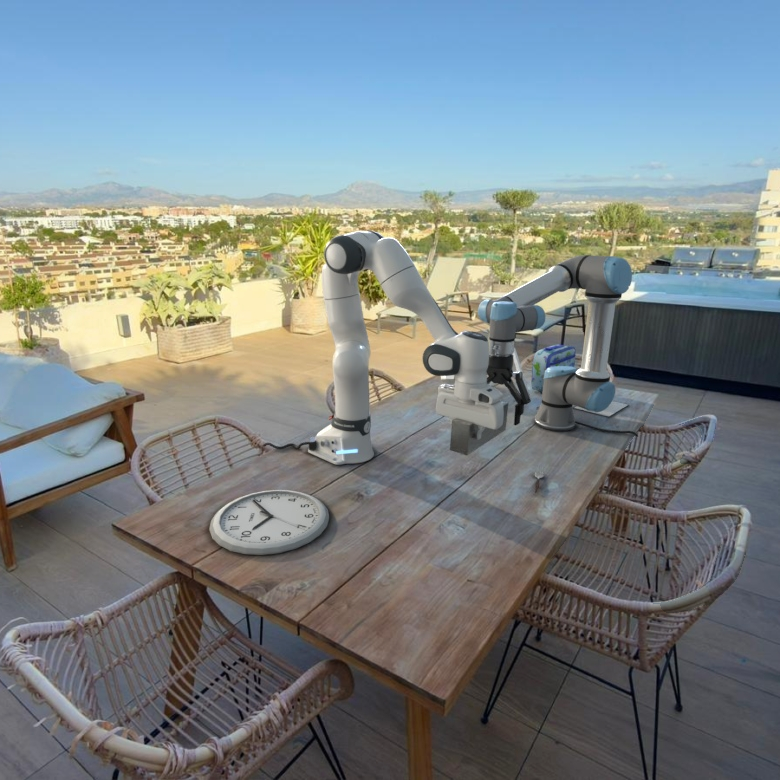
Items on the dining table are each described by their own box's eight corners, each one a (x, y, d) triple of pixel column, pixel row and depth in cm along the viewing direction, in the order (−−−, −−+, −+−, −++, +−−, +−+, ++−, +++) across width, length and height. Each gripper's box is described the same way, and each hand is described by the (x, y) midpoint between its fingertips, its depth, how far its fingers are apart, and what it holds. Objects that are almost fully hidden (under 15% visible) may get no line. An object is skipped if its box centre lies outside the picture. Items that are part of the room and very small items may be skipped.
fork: (530, 493, 151) (531, 487, 150) (535, 470, 165) (536, 465, 164) (539, 495, 150) (540, 489, 149) (544, 472, 164) (544, 466, 163)
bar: (489, 425, 170) (492, 398, 167) (505, 430, 166) (508, 402, 164) (449, 450, 150) (451, 420, 147) (467, 455, 147) (469, 425, 144)
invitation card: (608, 416, 214) (573, 407, 224) (608, 416, 214) (573, 408, 224) (628, 404, 229) (594, 396, 238) (628, 405, 229) (594, 397, 238)
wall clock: (327, 546, 121) (194, 551, 119) (327, 552, 122) (195, 557, 119) (330, 485, 150) (223, 488, 147) (330, 490, 150) (224, 493, 148)
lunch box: (547, 397, 237) (552, 352, 231) (526, 391, 245) (531, 348, 238) (574, 386, 255) (580, 344, 249) (554, 381, 262) (559, 340, 256)
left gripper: (432, 384, 150) (430, 429, 154) (498, 400, 138) (493, 448, 142) (444, 380, 155) (441, 423, 159) (508, 394, 143) (503, 441, 147)
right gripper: (458, 350, 162) (455, 414, 169) (535, 362, 148) (529, 432, 154) (470, 345, 168) (467, 407, 174) (545, 357, 154) (539, 424, 160)
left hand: (466, 435), depth 150 cm, fingers closed on bar, 5 cm apart
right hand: (496, 419), depth 164 cm, fingers open, 13 cm apart
